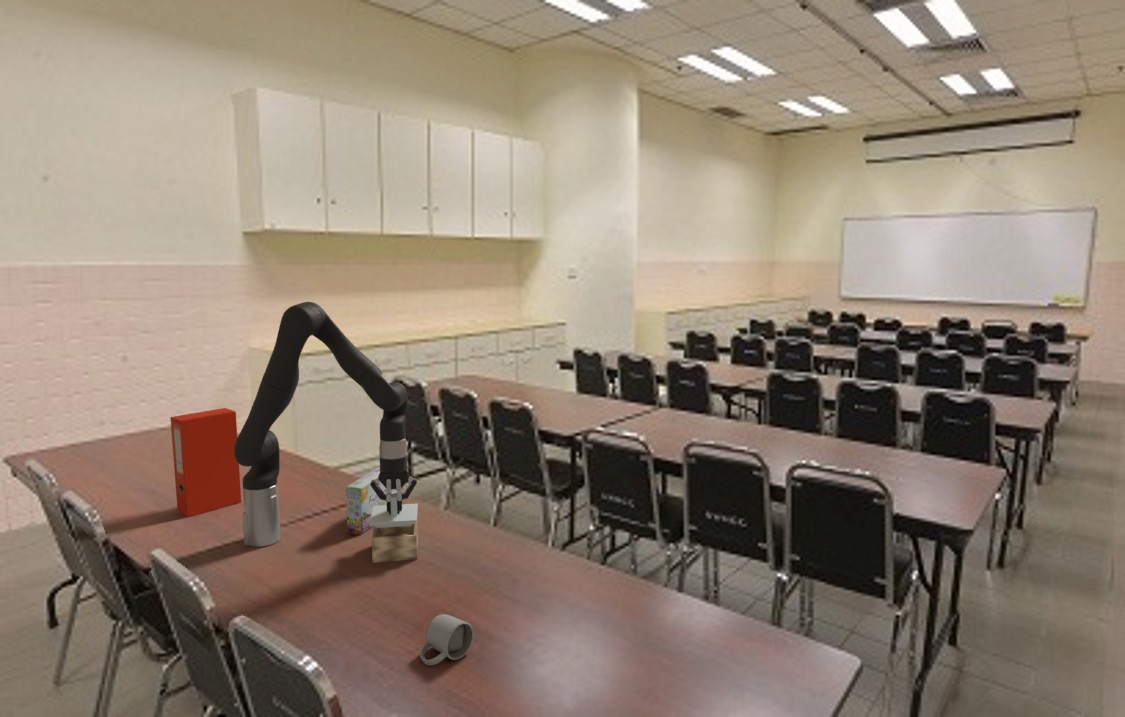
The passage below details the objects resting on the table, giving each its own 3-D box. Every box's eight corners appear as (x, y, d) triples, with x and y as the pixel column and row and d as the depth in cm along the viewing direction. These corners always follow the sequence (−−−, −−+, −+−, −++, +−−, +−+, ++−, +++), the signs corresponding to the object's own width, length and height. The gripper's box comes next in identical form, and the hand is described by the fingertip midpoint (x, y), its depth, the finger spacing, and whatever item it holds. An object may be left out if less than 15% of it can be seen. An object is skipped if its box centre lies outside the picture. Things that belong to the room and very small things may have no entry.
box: (372, 562, 185) (371, 538, 184) (376, 544, 197) (375, 521, 196) (416, 559, 187) (416, 535, 186) (417, 541, 199) (417, 519, 198)
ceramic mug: (449, 636, 150) (448, 604, 149) (474, 650, 145) (473, 617, 144) (411, 658, 142) (410, 625, 141) (436, 674, 137) (435, 639, 136)
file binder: (241, 502, 228) (235, 411, 223) (188, 517, 215) (180, 420, 210) (230, 497, 233) (224, 407, 228) (177, 511, 220) (169, 416, 215)
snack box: (363, 535, 203) (361, 488, 201) (346, 534, 204) (344, 486, 202) (394, 510, 224) (393, 466, 221) (378, 508, 225) (377, 465, 222)
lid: (369, 530, 184) (369, 503, 182) (373, 512, 196) (373, 487, 195) (416, 527, 186) (416, 501, 185) (418, 510, 198) (417, 485, 197)
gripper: (366, 458, 183) (368, 519, 186) (417, 456, 185) (418, 516, 188) (369, 451, 190) (371, 509, 193) (418, 449, 193) (419, 506, 195)
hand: (394, 512), depth 190 cm, fingers closed on lid, 1 cm apart
